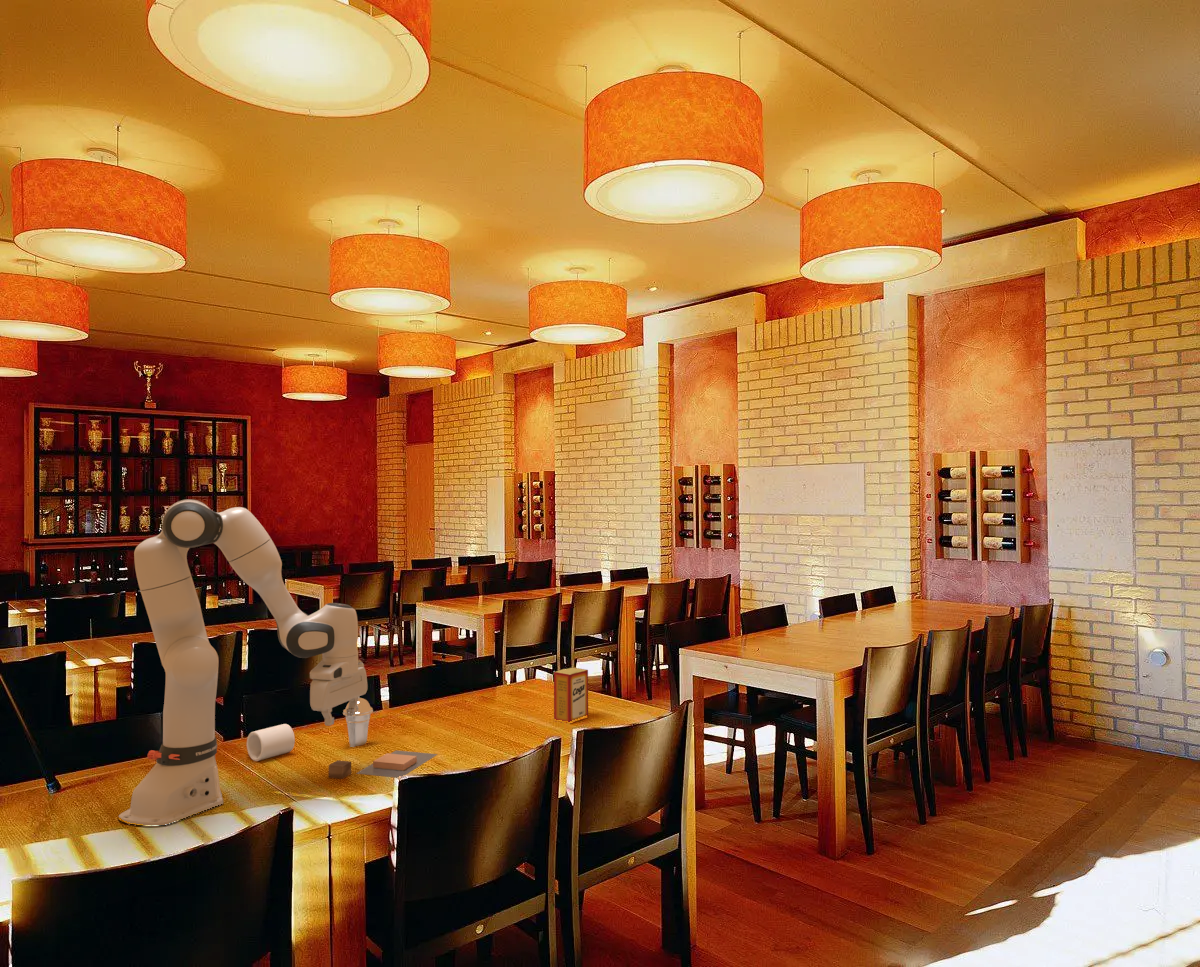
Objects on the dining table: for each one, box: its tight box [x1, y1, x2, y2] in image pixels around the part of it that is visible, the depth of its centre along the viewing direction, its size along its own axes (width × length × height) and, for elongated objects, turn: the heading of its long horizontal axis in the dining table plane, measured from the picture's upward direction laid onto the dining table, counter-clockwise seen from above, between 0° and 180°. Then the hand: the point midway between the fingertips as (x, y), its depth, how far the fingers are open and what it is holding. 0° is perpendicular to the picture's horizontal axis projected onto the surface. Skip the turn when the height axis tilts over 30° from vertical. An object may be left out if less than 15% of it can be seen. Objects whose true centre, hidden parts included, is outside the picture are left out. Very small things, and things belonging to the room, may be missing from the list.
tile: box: [372, 752, 417, 771], centre depth 217 cm, size 2×9×7 cm
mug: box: [246, 723, 296, 762], centre depth 229 cm, size 12×10×8 cm
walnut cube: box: [328, 760, 352, 780], centre depth 209 cm, size 4×4×4 cm
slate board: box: [355, 750, 438, 779], centre depth 218 cm, size 20×13×1 cm, turn 164°
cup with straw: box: [342, 696, 374, 748], centre depth 237 cm, size 8×9×20 cm
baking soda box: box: [553, 666, 589, 722], centre depth 265 cm, size 10×6×16 cm
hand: (340, 720), depth 209 cm, fingers open, 8 cm apart
